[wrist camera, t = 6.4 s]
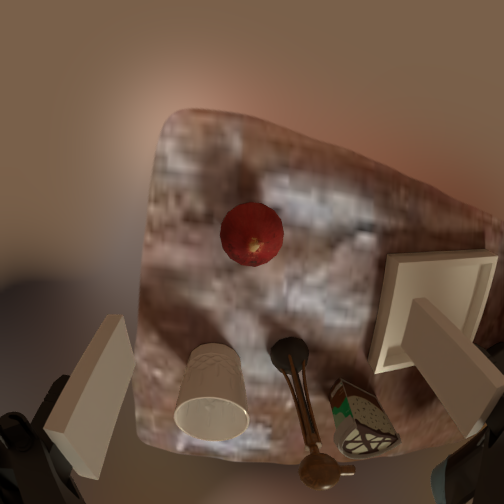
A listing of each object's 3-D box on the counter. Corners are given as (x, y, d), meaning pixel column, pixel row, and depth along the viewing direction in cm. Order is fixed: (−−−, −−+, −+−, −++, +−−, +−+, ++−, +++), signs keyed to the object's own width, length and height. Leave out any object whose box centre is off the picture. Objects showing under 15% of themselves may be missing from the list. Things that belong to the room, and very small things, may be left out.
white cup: (195, 329, 36) (186, 387, 26) (255, 349, 37) (262, 408, 28) (176, 373, 38) (166, 429, 28) (231, 390, 39) (232, 447, 30)
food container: (303, 399, 41) (317, 452, 32) (333, 374, 40) (354, 426, 30) (354, 421, 44) (371, 465, 35) (381, 398, 43) (403, 443, 33)
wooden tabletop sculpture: (320, 343, 37) (372, 475, 19) (304, 369, 39) (342, 498, 20) (278, 333, 36) (312, 477, 18) (264, 361, 38) (285, 500, 19)
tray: (485, 248, 35) (498, 255, 32) (459, 340, 40) (469, 350, 37) (387, 253, 34) (398, 263, 31) (367, 360, 39) (374, 373, 36)
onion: (272, 253, 33) (284, 286, 25) (218, 247, 32) (214, 279, 25) (281, 200, 31) (297, 218, 24) (225, 192, 30) (222, 208, 23)
